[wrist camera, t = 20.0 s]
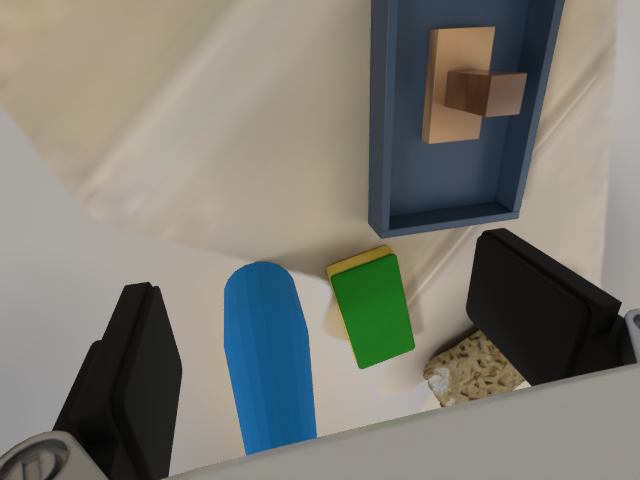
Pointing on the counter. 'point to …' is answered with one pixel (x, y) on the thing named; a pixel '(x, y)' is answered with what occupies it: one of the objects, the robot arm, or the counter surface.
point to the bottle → (268, 357)
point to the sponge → (471, 372)
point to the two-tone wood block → (465, 85)
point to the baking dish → (457, 156)
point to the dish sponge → (372, 306)
